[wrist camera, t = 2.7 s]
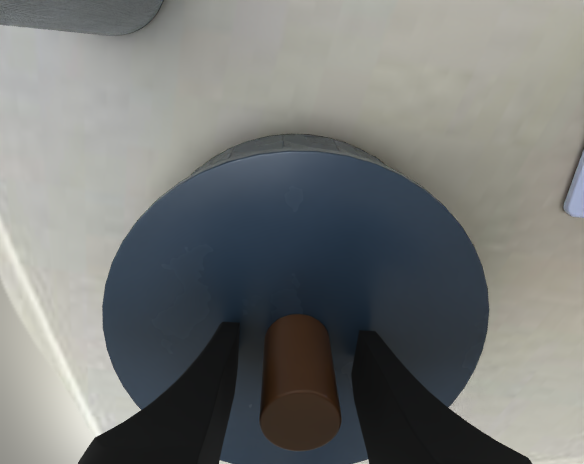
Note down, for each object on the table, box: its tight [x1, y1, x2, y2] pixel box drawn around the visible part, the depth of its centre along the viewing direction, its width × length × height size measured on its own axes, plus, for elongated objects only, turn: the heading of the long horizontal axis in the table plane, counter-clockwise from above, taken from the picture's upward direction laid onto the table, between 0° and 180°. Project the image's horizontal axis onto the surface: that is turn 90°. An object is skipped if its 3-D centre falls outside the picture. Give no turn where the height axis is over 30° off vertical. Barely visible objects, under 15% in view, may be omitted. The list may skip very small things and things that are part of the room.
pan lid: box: [102, 148, 489, 464], centre depth 15 cm, size 14×14×5 cm
